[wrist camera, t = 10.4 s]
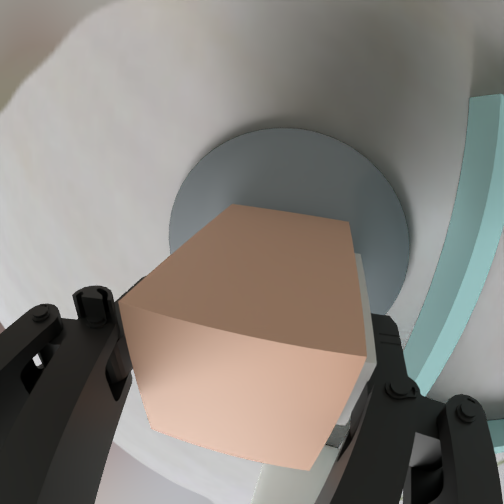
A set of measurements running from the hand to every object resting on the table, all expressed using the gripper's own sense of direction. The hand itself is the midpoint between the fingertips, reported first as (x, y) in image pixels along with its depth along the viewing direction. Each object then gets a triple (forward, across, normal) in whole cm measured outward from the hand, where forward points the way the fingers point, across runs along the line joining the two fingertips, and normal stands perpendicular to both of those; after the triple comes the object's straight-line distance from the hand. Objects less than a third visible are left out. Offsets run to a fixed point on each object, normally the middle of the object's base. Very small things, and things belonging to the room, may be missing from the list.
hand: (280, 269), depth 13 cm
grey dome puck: (+2, 0, 0) cm, 2 cm away
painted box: (0, 0, 0) cm, 0 cm away
